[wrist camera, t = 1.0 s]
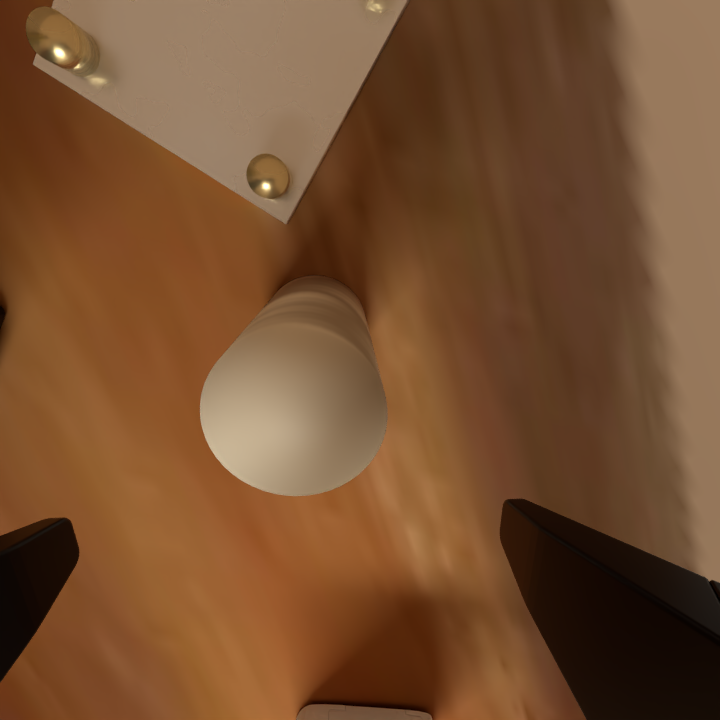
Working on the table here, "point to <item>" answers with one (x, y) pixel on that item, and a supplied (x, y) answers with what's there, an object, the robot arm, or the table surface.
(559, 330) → the table surface
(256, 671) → the table surface
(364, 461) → the maple peg
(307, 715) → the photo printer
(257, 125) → the base plate
